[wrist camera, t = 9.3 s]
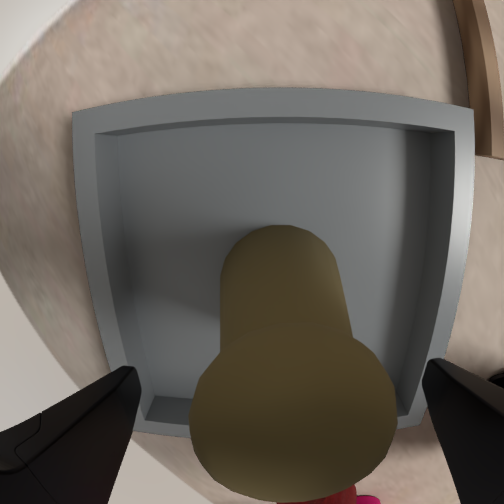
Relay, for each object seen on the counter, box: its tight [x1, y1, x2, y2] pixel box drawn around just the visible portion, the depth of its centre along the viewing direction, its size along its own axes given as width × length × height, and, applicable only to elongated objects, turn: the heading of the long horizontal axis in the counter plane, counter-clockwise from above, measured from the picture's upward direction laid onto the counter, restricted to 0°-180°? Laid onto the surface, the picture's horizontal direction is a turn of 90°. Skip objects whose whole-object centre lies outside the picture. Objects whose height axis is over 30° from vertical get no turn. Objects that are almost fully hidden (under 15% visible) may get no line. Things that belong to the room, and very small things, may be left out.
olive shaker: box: [188, 225, 398, 503], centre depth 11 cm, size 6×6×11 cm
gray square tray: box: [72, 88, 475, 438], centre depth 15 cm, size 18×18×3 cm
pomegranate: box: [277, 485, 357, 504], centre depth 17 cm, size 6×6×8 cm
